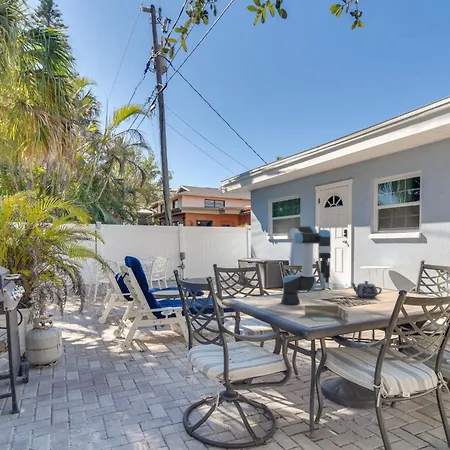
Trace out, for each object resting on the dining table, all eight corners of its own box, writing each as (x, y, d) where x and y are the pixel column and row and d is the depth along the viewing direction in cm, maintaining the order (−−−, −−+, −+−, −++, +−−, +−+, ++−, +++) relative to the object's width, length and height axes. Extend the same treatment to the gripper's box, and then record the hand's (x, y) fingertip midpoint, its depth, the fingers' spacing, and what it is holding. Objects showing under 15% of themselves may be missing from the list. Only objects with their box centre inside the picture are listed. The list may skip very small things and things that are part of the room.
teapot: (355, 293, 326) (355, 278, 327) (386, 298, 302) (386, 281, 303) (345, 295, 314) (344, 280, 315) (376, 300, 290) (376, 283, 291)
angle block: (326, 287, 224) (326, 272, 225) (329, 288, 218) (329, 273, 219) (313, 287, 225) (313, 272, 225) (315, 288, 219) (315, 273, 219)
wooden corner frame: (304, 315, 233) (304, 305, 233) (338, 315, 232) (338, 305, 233) (311, 321, 215) (311, 310, 215) (348, 321, 214) (347, 310, 215)
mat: (310, 317, 226) (310, 316, 226) (329, 317, 226) (329, 317, 226) (314, 321, 216) (314, 320, 216) (333, 321, 216) (333, 320, 216)
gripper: (315, 251, 232) (315, 284, 231) (323, 253, 213) (323, 288, 212) (326, 251, 232) (326, 284, 231) (334, 253, 213) (335, 288, 212)
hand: (325, 286), depth 222 cm, fingers closed on angle block, 6 cm apart
